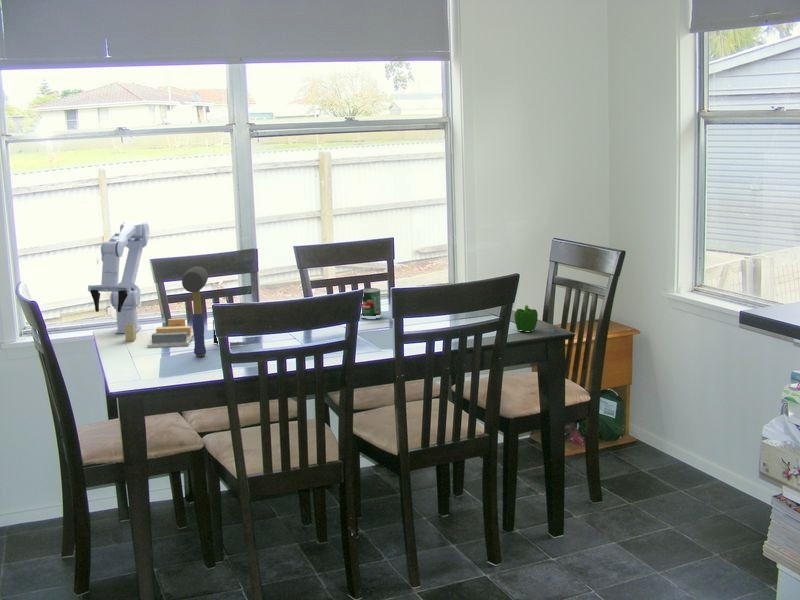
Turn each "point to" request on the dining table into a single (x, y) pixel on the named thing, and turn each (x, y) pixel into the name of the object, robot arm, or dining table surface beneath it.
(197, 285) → the rubber mallet
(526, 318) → the bell pepper
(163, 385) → the dining table surface
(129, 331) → the brass block
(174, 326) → the sliding jaw
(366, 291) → the canned tomato
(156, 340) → the gray rectangular tray
